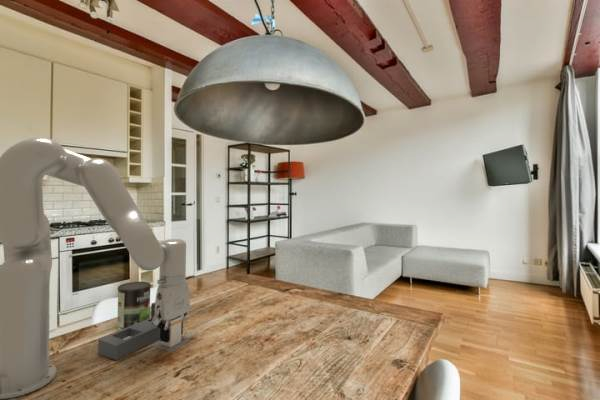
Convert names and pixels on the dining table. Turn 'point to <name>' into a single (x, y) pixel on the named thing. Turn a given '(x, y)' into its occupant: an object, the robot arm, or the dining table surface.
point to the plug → (174, 331)
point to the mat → (172, 346)
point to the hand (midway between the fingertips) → (171, 336)
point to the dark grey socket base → (128, 340)
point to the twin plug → (153, 311)
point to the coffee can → (133, 303)
